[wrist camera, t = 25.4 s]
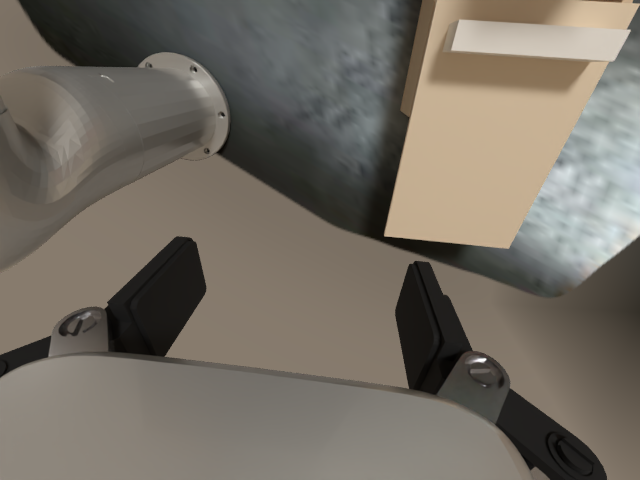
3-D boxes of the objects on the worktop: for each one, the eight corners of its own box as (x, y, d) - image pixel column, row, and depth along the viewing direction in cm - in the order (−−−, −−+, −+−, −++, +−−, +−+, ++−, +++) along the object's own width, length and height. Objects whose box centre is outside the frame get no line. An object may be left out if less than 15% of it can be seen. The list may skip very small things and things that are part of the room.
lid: (383, 234, 36) (386, 246, 33) (437, -7, 23) (448, -16, 20) (506, 246, 35) (518, 260, 32) (634, 5, 22) (671, -4, 19)
